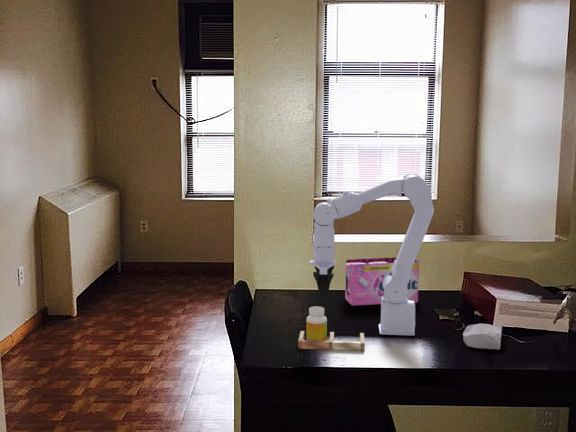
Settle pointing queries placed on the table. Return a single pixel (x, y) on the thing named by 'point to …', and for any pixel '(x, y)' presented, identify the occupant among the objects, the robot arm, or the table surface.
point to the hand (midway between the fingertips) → (323, 293)
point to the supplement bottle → (316, 324)
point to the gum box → (374, 280)
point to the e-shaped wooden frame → (331, 343)
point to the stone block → (483, 336)
